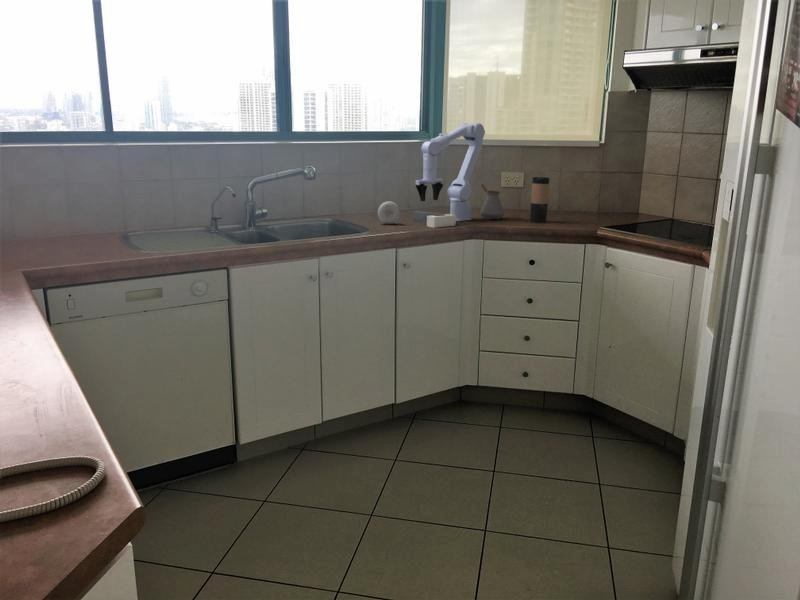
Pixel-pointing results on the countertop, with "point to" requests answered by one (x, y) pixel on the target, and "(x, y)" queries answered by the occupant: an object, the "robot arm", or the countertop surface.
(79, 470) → the countertop surface
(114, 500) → the countertop surface
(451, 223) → the cream u-shaped cradle
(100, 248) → the countertop surface
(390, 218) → the donut
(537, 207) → the travel mug
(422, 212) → the rail
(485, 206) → the coffee pot
